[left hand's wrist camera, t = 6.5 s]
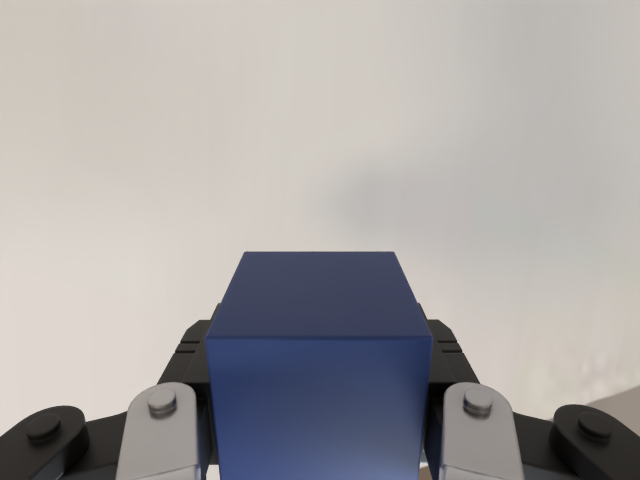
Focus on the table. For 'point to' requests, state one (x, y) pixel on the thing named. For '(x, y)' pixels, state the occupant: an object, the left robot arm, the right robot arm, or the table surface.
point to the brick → (319, 369)
